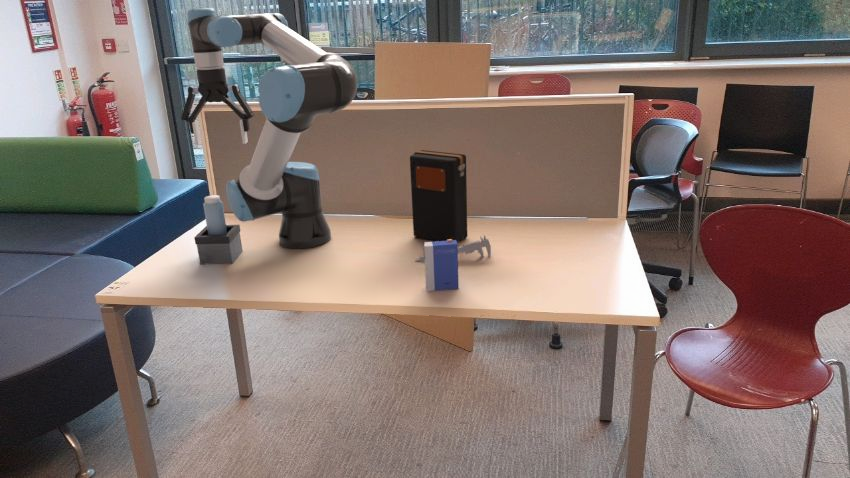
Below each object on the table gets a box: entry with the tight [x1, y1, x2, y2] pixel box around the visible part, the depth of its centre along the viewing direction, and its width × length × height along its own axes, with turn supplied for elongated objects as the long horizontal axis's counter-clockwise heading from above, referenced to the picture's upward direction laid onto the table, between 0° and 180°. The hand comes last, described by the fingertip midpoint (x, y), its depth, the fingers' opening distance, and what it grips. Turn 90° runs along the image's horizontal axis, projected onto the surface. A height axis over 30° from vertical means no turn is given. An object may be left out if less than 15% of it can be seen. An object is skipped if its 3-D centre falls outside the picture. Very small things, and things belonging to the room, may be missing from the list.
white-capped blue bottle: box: [202, 194, 227, 235], centre depth 173 cm, size 5×5×12 cm
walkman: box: [423, 239, 459, 292], centre depth 151 cm, size 8×3×12 cm, turn 95°
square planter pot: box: [193, 224, 243, 265], centre depth 175 cm, size 9×9×8 cm
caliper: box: [414, 235, 492, 263], centre depth 169 cm, size 20×1×6 cm, turn 94°
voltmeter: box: [409, 149, 468, 243], centre depth 180 cm, size 16×9×25 cm, turn 58°
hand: (222, 143), depth 182 cm, fingers open, 13 cm apart
